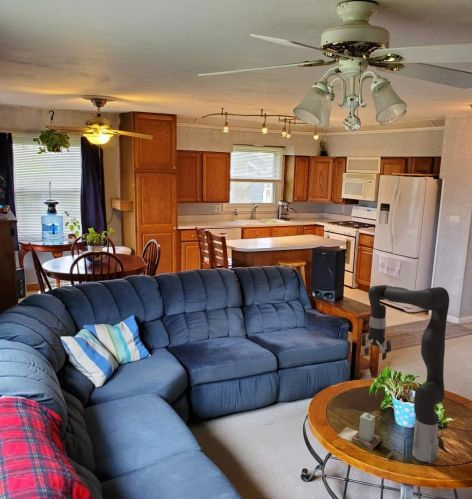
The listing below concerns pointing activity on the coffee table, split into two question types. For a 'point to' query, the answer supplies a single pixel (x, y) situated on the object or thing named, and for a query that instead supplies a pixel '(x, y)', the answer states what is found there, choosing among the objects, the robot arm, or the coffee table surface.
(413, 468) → the coffee table surface
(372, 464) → the coffee table surface
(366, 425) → the cabinet block
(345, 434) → the mount board
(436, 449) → the robot arm
